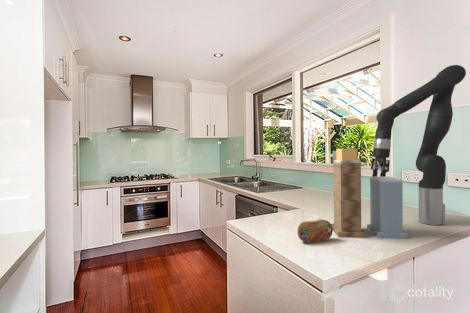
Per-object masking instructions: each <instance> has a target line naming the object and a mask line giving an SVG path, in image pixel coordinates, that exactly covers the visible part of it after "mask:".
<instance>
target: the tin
mask: <svg viewBox="0 0 470 313" xmlns="http://www.w3.org/2000/svg"><path fill="white" fill-rule="evenodd" d="M331 224H332V223H331V222H330V221H328V220H325V219H314V220H307V221H306V220H305V221H302V222H301V223H300V224H299V225H298V227H297V237H298V239H300V241H302V242H303V243H305V244H314V243H321V242H326V241H328V240H330V238H331V237H332V235H333V232H334V231H333V228H332V225H331Z"/></svg>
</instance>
